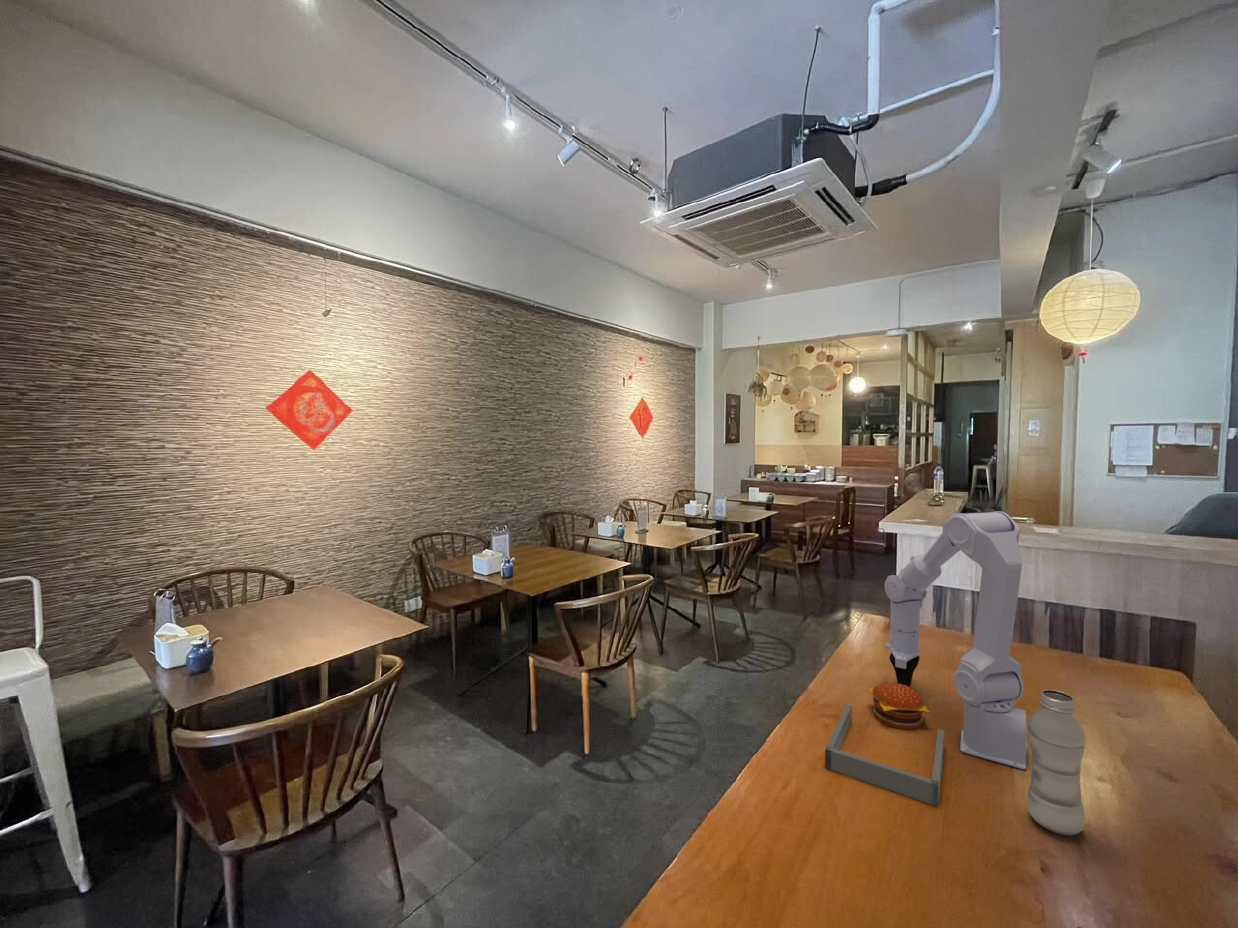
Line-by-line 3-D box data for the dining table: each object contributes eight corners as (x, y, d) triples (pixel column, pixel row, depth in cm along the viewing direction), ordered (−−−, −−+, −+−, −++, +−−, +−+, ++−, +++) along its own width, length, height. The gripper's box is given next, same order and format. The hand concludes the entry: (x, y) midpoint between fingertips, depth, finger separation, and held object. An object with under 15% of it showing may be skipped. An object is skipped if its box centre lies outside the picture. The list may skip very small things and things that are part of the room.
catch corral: (944, 748, 95) (944, 730, 95) (938, 806, 80) (938, 785, 80) (846, 720, 105) (846, 703, 104) (825, 767, 90) (825, 748, 90)
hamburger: (864, 705, 110) (864, 675, 110) (910, 707, 110) (911, 677, 109) (883, 730, 101) (883, 698, 101) (933, 732, 100) (934, 699, 100)
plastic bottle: (1096, 845, 72) (1100, 708, 71) (1041, 839, 73) (1045, 704, 72) (1066, 812, 78) (1069, 686, 77) (1016, 807, 80) (1019, 683, 79)
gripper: (889, 615, 122) (889, 670, 123) (879, 635, 110) (879, 695, 111) (923, 620, 118) (922, 677, 119) (917, 642, 106) (916, 705, 107)
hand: (904, 687), depth 115 cm, fingers closed
